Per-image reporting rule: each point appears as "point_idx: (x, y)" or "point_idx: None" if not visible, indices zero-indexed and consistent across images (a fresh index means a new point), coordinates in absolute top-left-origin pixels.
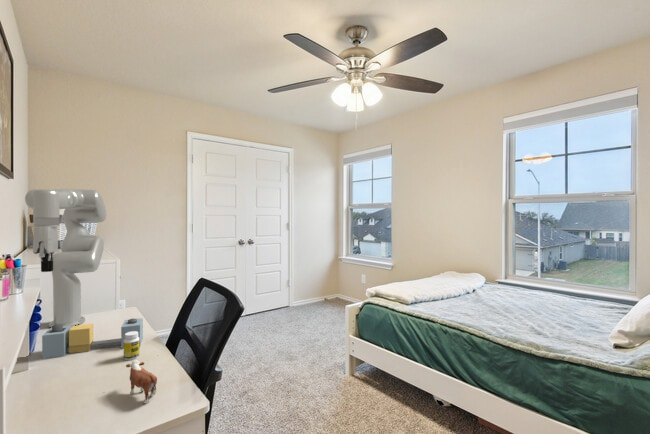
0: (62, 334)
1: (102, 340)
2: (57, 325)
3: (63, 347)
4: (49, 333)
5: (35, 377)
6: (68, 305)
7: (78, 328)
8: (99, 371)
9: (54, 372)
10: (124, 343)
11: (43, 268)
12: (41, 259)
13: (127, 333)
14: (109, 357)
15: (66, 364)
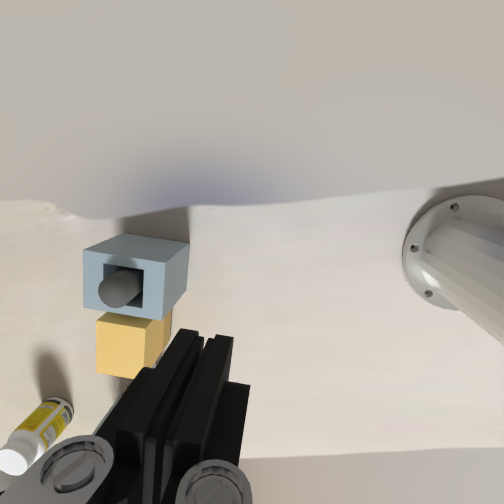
0: (85, 302)
1: (154, 367)
2: (113, 293)
3: None
4: (97, 267)
5: (13, 238)
6: (460, 292)
7: (107, 344)
8: (4, 353)
9: (28, 272)
10: (16, 428)
11: (140, 375)
12: (27, 482)
13: (11, 454)
14: (75, 371)
15: (66, 290)
